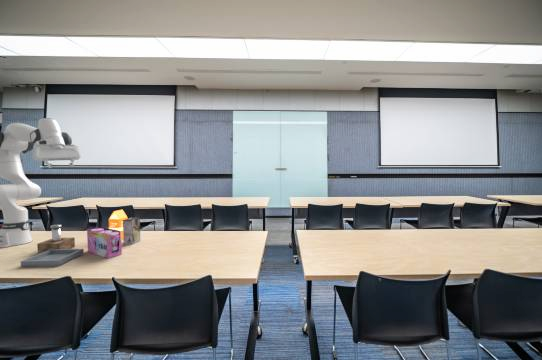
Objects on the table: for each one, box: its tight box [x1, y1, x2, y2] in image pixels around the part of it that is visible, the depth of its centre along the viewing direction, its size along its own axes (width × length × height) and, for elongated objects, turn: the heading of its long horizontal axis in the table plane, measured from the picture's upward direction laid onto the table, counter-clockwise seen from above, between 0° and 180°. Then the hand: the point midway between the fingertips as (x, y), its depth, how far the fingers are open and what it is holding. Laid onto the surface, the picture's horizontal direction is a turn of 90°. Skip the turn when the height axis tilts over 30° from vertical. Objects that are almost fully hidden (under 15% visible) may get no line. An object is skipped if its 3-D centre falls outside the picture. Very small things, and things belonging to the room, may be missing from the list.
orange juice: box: [108, 209, 128, 240], centre depth 172 cm, size 8×9×20 cm
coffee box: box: [122, 216, 141, 245], centre depth 163 cm, size 9×6×16 cm
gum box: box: [86, 226, 123, 259], centre depth 142 cm, size 24×8×14 cm, turn 61°
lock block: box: [36, 237, 76, 255], centre depth 146 cm, size 12×12×6 cm
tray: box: [20, 248, 85, 268], centre depth 131 cm, size 18×18×3 cm
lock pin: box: [49, 224, 63, 242], centre depth 146 cm, size 5×5×15 cm
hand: (61, 166), depth 136 cm, fingers open, 8 cm apart
